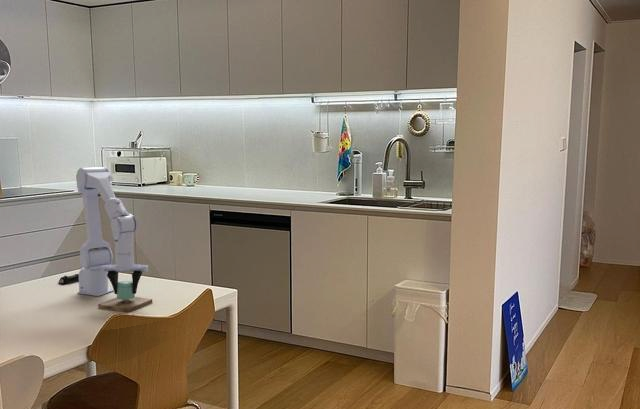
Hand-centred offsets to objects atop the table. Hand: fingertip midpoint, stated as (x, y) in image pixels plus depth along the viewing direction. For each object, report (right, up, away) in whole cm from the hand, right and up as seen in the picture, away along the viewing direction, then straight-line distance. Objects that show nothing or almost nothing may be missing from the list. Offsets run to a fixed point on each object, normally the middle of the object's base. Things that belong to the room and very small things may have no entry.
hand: (125, 293), depth 197 cm
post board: (0, -4, +1) cm, 4 cm away
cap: (0, -2, 0) cm, 2 cm away
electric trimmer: (-28, 0, +31) cm, 42 cm away
